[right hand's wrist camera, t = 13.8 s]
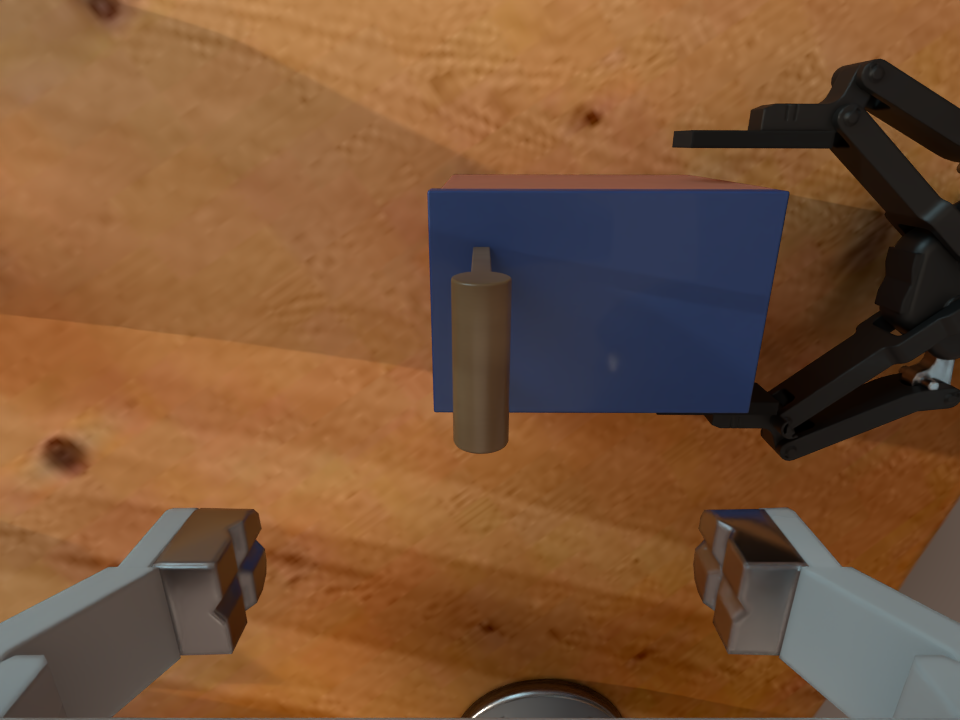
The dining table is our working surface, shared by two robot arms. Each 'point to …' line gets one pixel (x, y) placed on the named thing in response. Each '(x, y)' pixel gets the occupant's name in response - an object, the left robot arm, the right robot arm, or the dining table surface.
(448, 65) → the dining table surface
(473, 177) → the chest
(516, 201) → the lid
